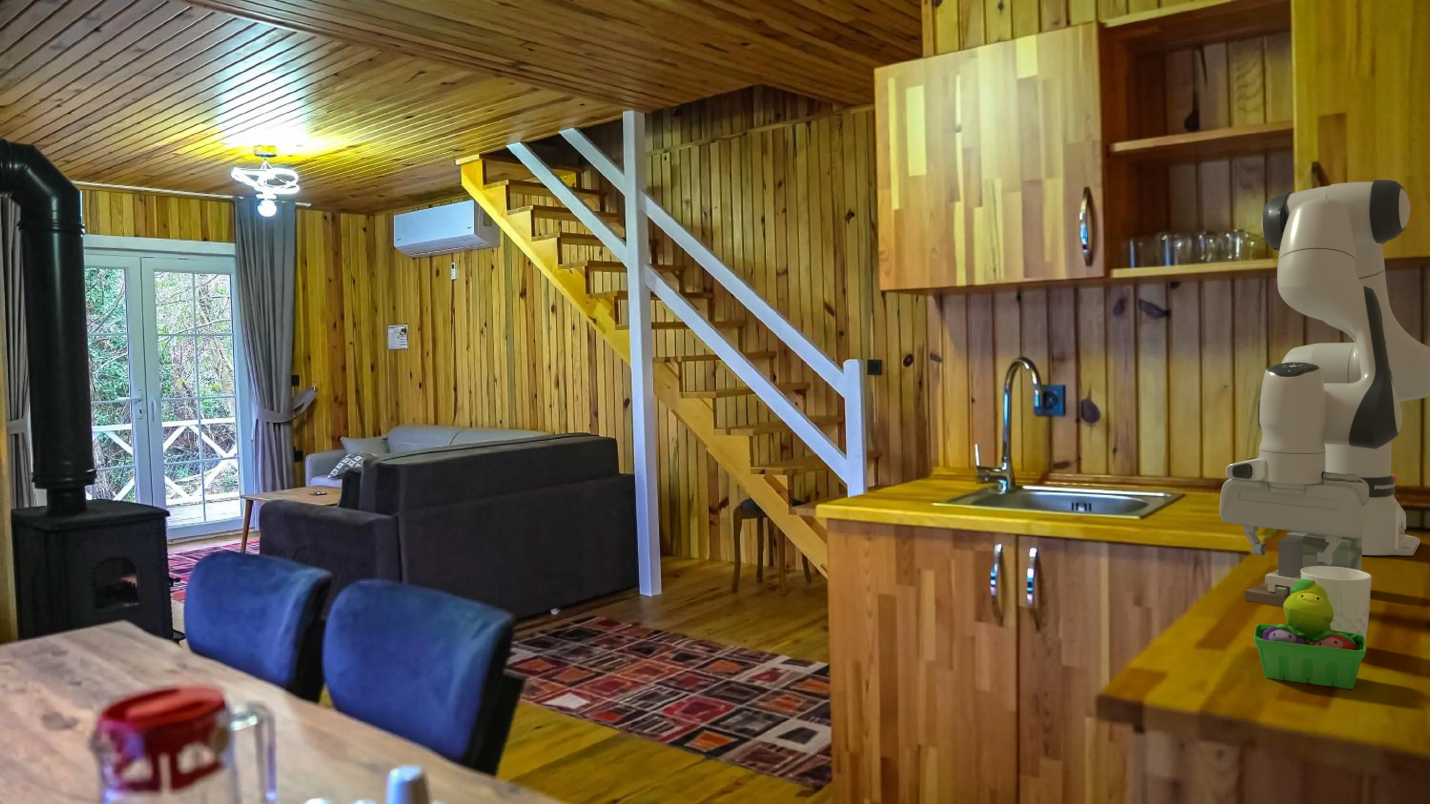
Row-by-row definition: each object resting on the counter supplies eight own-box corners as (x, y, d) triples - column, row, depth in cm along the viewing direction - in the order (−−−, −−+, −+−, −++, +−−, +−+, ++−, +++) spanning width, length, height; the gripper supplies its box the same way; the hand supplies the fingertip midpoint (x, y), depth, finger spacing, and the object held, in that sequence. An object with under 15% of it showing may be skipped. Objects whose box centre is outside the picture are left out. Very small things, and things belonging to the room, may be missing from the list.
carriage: (1281, 583, 158) (1281, 534, 157) (1315, 589, 154) (1316, 538, 153) (1264, 590, 154) (1265, 539, 153) (1300, 596, 150) (1300, 544, 149)
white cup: (1381, 658, 127) (1382, 580, 126) (1313, 656, 128) (1313, 579, 128) (1354, 640, 134) (1356, 566, 134) (1290, 638, 136) (1291, 565, 135)
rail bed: (1297, 578, 168) (1297, 528, 167) (1365, 589, 160) (1365, 536, 160) (1245, 600, 155) (1245, 546, 155) (1315, 612, 148) (1316, 555, 147)
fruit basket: (1252, 679, 120) (1253, 587, 119) (1257, 659, 128) (1258, 571, 127) (1365, 695, 114) (1367, 598, 113) (1363, 672, 122) (1365, 581, 121)
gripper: (1377, 473, 147) (1375, 566, 147) (1232, 462, 162) (1232, 546, 163) (1361, 477, 143) (1359, 573, 143) (1215, 466, 158) (1214, 552, 159)
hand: (1290, 559), depth 154 cm, fingers open, 8 cm apart
